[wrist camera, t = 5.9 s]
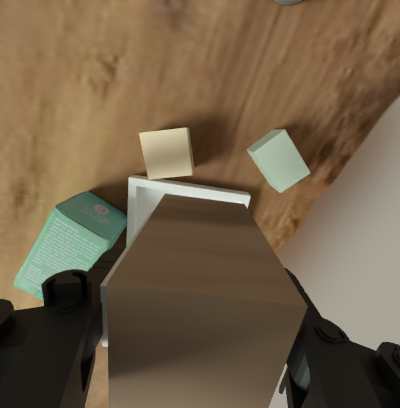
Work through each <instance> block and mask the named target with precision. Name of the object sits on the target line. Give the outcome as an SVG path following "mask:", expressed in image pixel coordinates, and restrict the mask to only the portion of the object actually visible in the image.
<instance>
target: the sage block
mask: <svg viewBox="0 0 400 408" xmlns="http://www.w3.org/2000/svg"><path fill="white" fill-rule="evenodd" d="M246 150H247V151H248V153H249V154H250V156H251V157H252V159H253V160H254V162H255V163H256V165H257V166H258V168H259V169H260V171H261V172H262V174H263V175H264V177H265V178H266V180H267V181H268V183H269V184H270V185H271V186H272V187H273V188H275V189H276V190H277V191H278V192H280V193H281V192H283V191H284V190H286V189H287V188H289V187H290V186H292V185H293V184H295V183H296V182H298V181H299V180H301V179H302V178H304V177H305V176H307V175H308V174H310V171H309V169H308V168H307V166H306V164H305V163H304V161H303V159H302V157H301V156H300V154H299V152H298V151H297V149H296V147H295V146H294V144H293V142H292V141H291V139H290V137H289V135H288V134H287V132H286V130H285V129H274V130H272V131H270V132H269V133H268V134H266V135H265V136H264V137H262V138H261V139H260V140H258V141H257V142H256V143H254V144H253V145H252V146H250V147H249V148H248V149H246Z"/></svg>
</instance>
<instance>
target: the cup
mask: <svg viewBox="0 0 400 408" xmlns="http://www.w3.org/2000/svg"><path fill="white" fill-rule="evenodd" d="M274 1H276V2H277V3H279V4H282V5H294V4H297V3H299V2H301V1H302V0H274Z"/></svg>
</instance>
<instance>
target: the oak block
mask: <svg viewBox="0 0 400 408" xmlns="http://www.w3.org/2000/svg"><path fill="white" fill-rule="evenodd" d="M139 135H140V140H141V145H142V150H143V155H144V160H145V165H146V170H147V175H148V180H151V179H160V178H169V177H179V176H188V175H193V170H194V162H193V154H192V146H191V137H190V129H189V128H187V127H186V128H178V129H169V130H161V131H152V132H144V133H139Z"/></svg>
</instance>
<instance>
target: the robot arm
mask: <svg viewBox="0 0 400 408" xmlns="http://www.w3.org/2000/svg"><path fill="white" fill-rule="evenodd" d="M152 213H153V212H152V211H151V212H150V213H149V215H148V216H147V218H146V219H145V221H144V222H143V224H142V225H141V227H140V228H139V229H138V231H137V232H136V234H135V235H134V237H133V238H132V240H131V241H130V243H129V244H128V246H127V247H126V248H125V249H120V248H111V249H109V250H107V251H106V252H104V253H103V254H102V255H101V256H100V257H99V258H98V259H97V261H96V262H95V263H94V264H93V265H92V268H90V269H89V270H88V271H84V270H80V269H71V270H65V271H62V272H59V273H56V274H54V275H52V276H51V277H49V278H47V279H46V280H45V281H44V282H43V283H42V284H41V287H42V293H43V300H44V306H42V307H36V308H29V309H22V310H15V311H14V307H13V305H12V303H11V302H10V301H8V300H5V299H0V408H84V407H85V403H86V398H87V394H88V389H89V385H90V381H91V376H92V372H93V367H94V363H95V354H96V351H95V349H96V347H97V345H98V343H99V341H100V339H101V337H102V346H104V347H108V320H107V282H108V281H109V279H110V277H111V276H112V274H113V273H114V271H115V270H116V268H117V267H118V265H119V264H120V262H121V261H122V259H123V257H124V256H125V254H126V253H127V251H128V250H129V248H130V247H131V245H132V244H133V242H134V240H135V239H136V237H137V236H138V234H139V233H140V231H141V230H142V228H143V227H144V225H145V224H146V222H147V220H148V219H149V217H150V216H151V214H152ZM284 269H285V270H286V272H287V273H288V275H289V277H290V278H291V280H292V282H293V283H294V285H295V286H296V288H297V290H298V291H299V293H300V294H301V296H302V298H303V299H304V301H305V303H306V304H307V306H308V308H307V310H306V313H305V315H304V318H303V320H302V323H301V325H300V328H299V331H298V333H297V336H296V338H295V341H294V343H293V346H292V348H291V351H290V353H289V356H288V359H287V361H286V363H287V366H288V367H287V370H286V372H285V374H284V377H283V379H282V382H281V385H280V388H279V393H280V394H282V393H283V391H284V389H285V386H286V394H287V403H288V408H400V346H399V345H398V344H394V343H390V342H382V343H381V344H380V346H379V347H378V349H377V351H375V350H372V349H370V348H367V347H364V346H362V345H359V344H357V343H354V342H352V341H350V340H349V338H348V337H347V335H346V334H345V333H344V332H343V331H342V330H341V329H340V328H339V327H338V326H337V325H335V324H334V323H332V322H331V321H329V320H326V319H324V318H322V317H321V315H320V313H319V312H318V311H317V309H316V307H315V306H314V304H313V303H312V302H311V300H310V298H309V297H308V295H307V294H306V292H304V289H303V287H302V286H301V285H300V283H299V281H298V280H297V278H296V277H295V276H294V275H293V274H292V273H291V272H290V271H289V270H288V269H286V268H284Z"/></svg>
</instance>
